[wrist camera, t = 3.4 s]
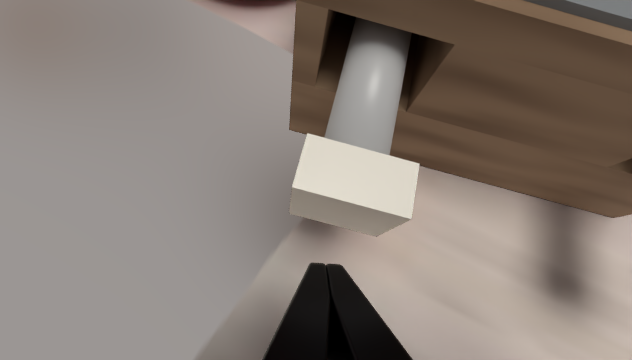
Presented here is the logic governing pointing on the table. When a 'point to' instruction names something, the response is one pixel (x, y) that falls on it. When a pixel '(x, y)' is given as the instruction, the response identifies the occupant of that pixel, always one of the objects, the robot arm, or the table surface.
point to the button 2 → (360, 142)
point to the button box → (489, 93)
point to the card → (595, 10)
